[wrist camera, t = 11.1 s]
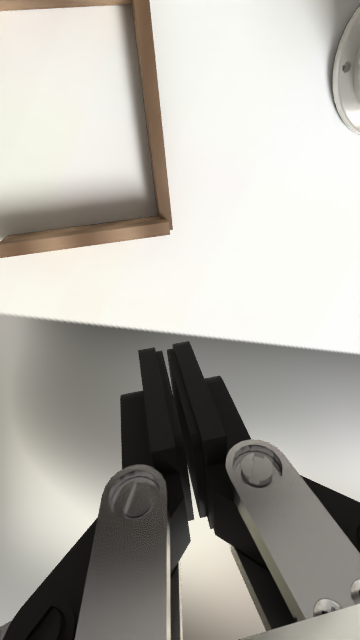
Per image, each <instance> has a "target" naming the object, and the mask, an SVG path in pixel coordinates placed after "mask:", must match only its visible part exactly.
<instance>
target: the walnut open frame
mask: <svg viewBox="0 0 360 640" xmlns="http://www.w3.org/2000/svg"><path fill="white" fill-rule="evenodd" d="M126 4H132V10H133V18H134V26H135V34H136V43H137V51H138V59H139V67H140V75H141V83H142V91H143V100H144V108H145V116H146V124H147V132H148V140H149V149H150V157H151V165H152V173H153V181H154V189H155V198H156V206H157V214H158V216H154V217H146V218H139V219H131V220H123V221H116V222H108V223H101V224H93V225H85V226H78V227H70V228H62V229H55V230H47V231H39V232H32V233H24V234H17V235H9V236H7V237H6V238H4V239H3V240H2V241H0V258H4V257H11V256H19V255H26V254H33V253H40V252H47V251H55V250H62V249H69V248H76V247H84V246H91V245H98V244H105V243H112V242H120V241H127V240H134V239H141V238H149V237H156V236H163V235H170V230H173V227H172V218H171V208H170V198H169V188H168V179H167V169H166V159H165V149H164V140H163V130H162V120H161V110H160V101H159V91H158V81H157V71H156V62H155V52H154V42H153V32H152V23H151V13H150V3H149V0H0V11H8V10H28V9H47V8H67V7H87V6H106V5H126Z"/></svg>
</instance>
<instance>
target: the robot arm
mask: <svg viewBox="0 0 360 640" xmlns="http://www.w3.org/2000/svg"><path fill="white" fill-rule="evenodd" d="M342 68H343V69H342ZM333 94H334V101H335V104H336V107H337V110H338V113H339V115H340V117H341V118H342V120H343V122H344V123H345V124H346V125H347V126H348V127H349V128H350V129H351V130H352V131H353V132H355V133H357V134H358V135H360V6H359V7H358V9H357V10H356V11H355V13H354V14H353V16H352V18H351V19H350V21H349V23H348V24H347V26H346V28H345V31H344V33H343V35H342V37H341V40H340V42H339V46H338V49H337V53H336V56H335V61H334V68H333ZM138 352H139V360H140V368H141V377H142V385H143V391H139V392H134V393H128V394H123V395H121V399H120V401H121V440H122V441H121V442H122V470H120V471H119V472H117V473H116V474H115V475H114V476H113V477H112V478H111V479H110V480H109V482H108V483H107V485H106V486H105V489H104V492H103V494H102V498H101V504H100V509H99V514H98V518H97V519H96V520H95V521H94V523H93V524H92V525H91V526H90V527H89V528H88V529H87V531H86V532H85V533H84V534H83V536H82V537H81V538H80V539H79V540H78V541H77V543H76V544H75V545H74V546H73V547H72V548H71V550H70V551H69V552H68V553H67V554H66V555H65V557H64V558H63V559H62V560H61V562H60V563H59V564H58V565H57V566H56V567H55V569H54V570H53V571H52V572H51V573H50V574H49V576H48V577H47V578H46V579H45V580H44V582H43V583H42V584H41V585H40V586H39V587H38V589H37V590H36V591H35V592H34V593H33V594H32V596H31V597H30V598H29V599H28V600H27V601H26V603H25V604H24V605H23V606H22V607H21V609H20V610H19V611H18V613H17V614H16V616H15V617H14V619H13V620H12V621H10V622H8V623H6V624H5V625H3V626H1V627H0V640H183V634H182V633H183V632H182V602H181V601H182V599H181V567H180V558H181V557H182V555H183V553H184V551H185V550H186V548H187V546H188V545H189V543H190V541H191V540H190V534H189V526H188V521H190V520H193V519H194V515H193V507H192V500H191V491H190V483H189V475H188V470H189V474H190V478H191V482H192V486H193V491H194V495H195V499H196V503H197V508H198V512H199V516H200V518H202V517H206V516H207V518H208V521H209V526H210V529H212V528H214V531H215V535H217V536H218V537H220V538H221V539H223V540H224V541H226V542H227V543H229V546H230V549H231V552H232V555H233V557H234V559H235V561H236V564H237V566H238V568H239V570H240V573H241V575H242V577H243V580H244V582H245V584H246V586H247V588H248V591H249V593H250V595H251V598H252V600H253V602H254V605H255V607H256V609H257V611H258V614H259V616H260V618H261V620H262V623H263V625H264V627H265V630H266V632H263V633H260V634H256V635H253V636H249V637H246V638H243V639H239V640H360V502H358V501H355V500H353V499H351V498H349V497H347V496H344V495H342V494H340V493H338V492H336V491H334V490H331V489H329V488H327V487H325V486H323V485H320V484H318V483H316V482H314V481H312V480H310V479H307V478H305V477H303V476H301V475H299V473H298V472H297V471H296V470H295V468H294V467H293V466H292V464H291V463H290V462H289V460H288V459H287V458H286V456H285V455H284V454H283V453H282V452H281V451H280V450H279V449H278V448H277V447H275V446H274V445H272V444H270V443H268V442H264V441H262V440H251V438H250V436H249V434H248V432H247V430H246V427H245V426H244V424H243V421H242V419H241V417H240V415H239V413H238V411H237V409H236V407H235V405H234V402H233V400H232V398H231V396H230V394H229V392H228V390H227V388H226V386H225V384H224V382H223V380H222V378H221V377H220V376H216V377H211V378H205V379H204V377H203V375H202V372H201V370H200V367H199V365H198V362H197V360H196V357H195V355H194V352H193V350H192V347H191V345H190V343H189V342H182V343H176V344H173V349H168V350H167V355H168V362H169V369H170V377H171V384H172V390H171V386H170V382H169V378H168V373H167V369H166V366H165V361H164V357H163V353H162V351H157V352H156V351H155V348H149V349H143V350H138ZM172 392H173V394H172ZM187 465H188V467H187Z"/></svg>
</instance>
